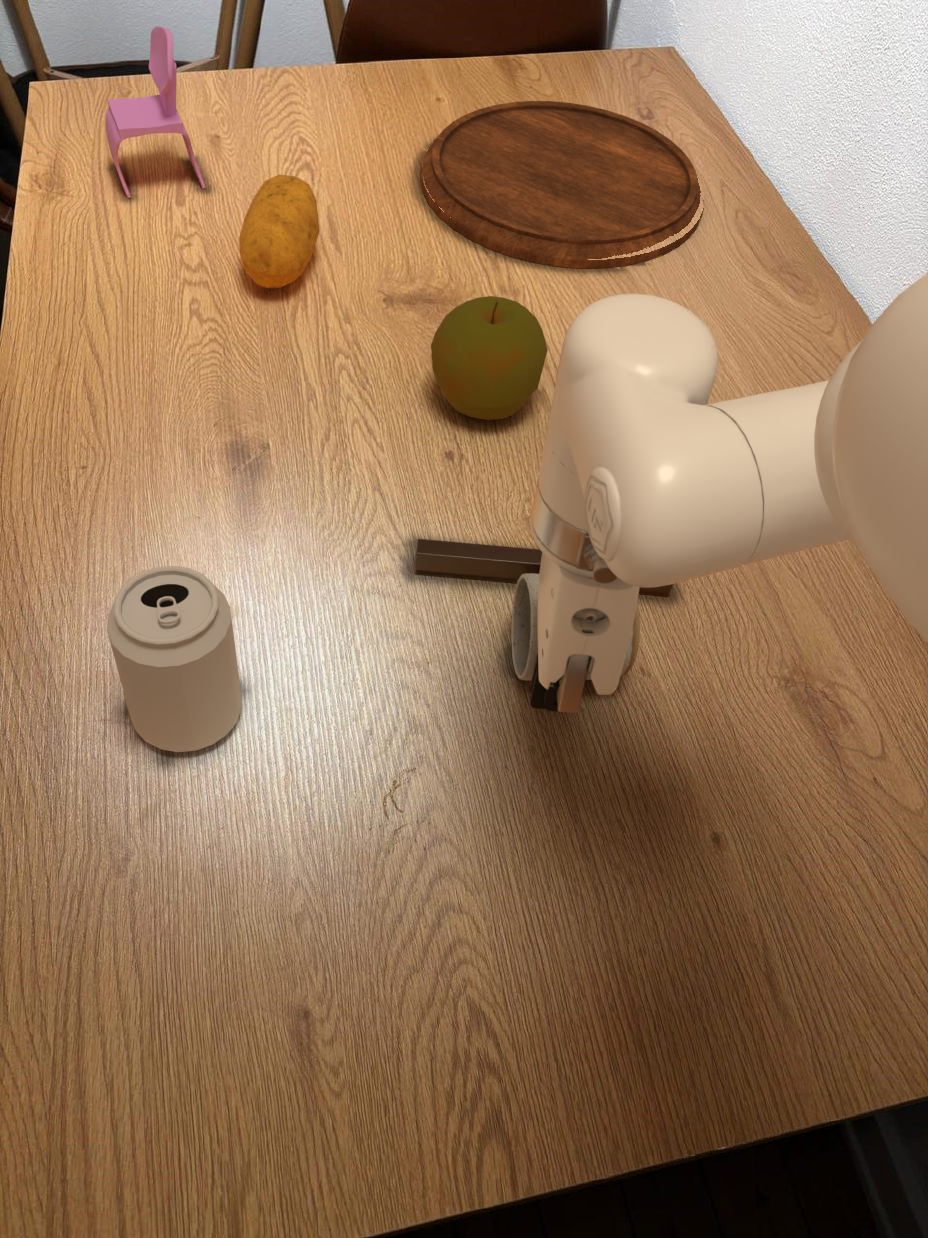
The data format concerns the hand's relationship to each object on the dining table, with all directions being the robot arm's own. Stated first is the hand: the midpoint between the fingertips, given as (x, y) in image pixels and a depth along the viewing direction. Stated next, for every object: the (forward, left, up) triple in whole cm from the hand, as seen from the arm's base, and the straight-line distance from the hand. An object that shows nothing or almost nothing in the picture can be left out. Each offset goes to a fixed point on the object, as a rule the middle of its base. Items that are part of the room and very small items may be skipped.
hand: (552, 700), depth 76 cm
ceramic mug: (+6, -5, -4) cm, 8 cm away
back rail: (+12, -8, -3) cm, 14 cm away
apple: (+32, -15, -4) cm, 35 cm away
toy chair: (+79, -3, -4) cm, 79 cm away
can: (+13, +21, -4) cm, 25 cm away
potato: (+59, -8, -4) cm, 59 cm away
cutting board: (+60, -43, -4) cm, 74 cm away
